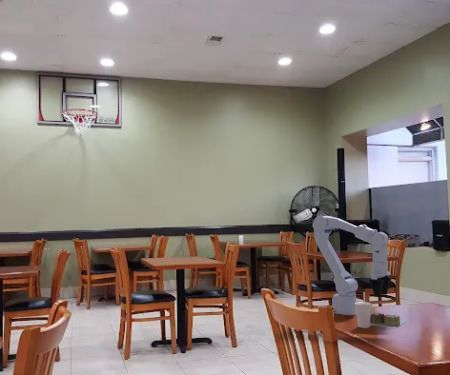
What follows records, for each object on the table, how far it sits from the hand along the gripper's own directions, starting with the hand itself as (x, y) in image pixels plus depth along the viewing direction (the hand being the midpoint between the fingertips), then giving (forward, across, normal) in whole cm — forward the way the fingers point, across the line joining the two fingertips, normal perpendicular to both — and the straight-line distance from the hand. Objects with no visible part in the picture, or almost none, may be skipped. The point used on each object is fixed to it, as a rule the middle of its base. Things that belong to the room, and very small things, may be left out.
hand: (380, 295), depth 195 cm
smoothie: (+10, -20, 0) cm, 22 cm away
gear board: (+10, -7, -4) cm, 13 cm away
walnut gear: (+9, -10, -2) cm, 13 cm away
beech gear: (+9, -10, -7) cm, 15 cm away
